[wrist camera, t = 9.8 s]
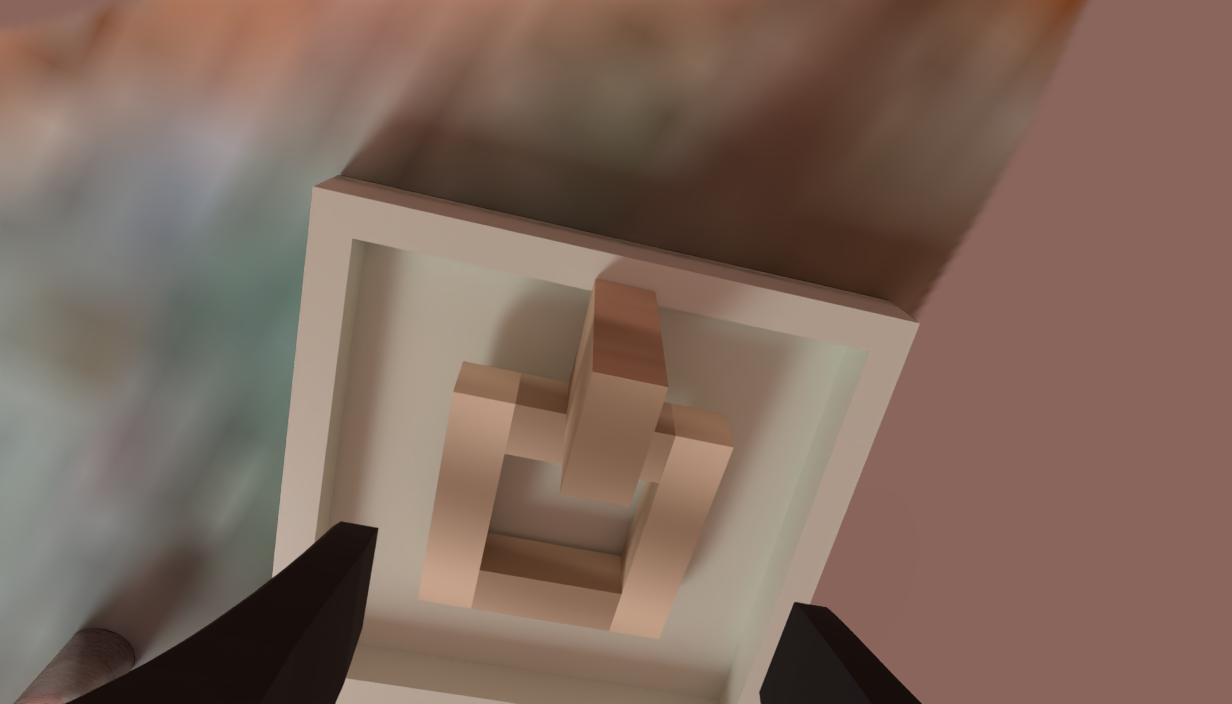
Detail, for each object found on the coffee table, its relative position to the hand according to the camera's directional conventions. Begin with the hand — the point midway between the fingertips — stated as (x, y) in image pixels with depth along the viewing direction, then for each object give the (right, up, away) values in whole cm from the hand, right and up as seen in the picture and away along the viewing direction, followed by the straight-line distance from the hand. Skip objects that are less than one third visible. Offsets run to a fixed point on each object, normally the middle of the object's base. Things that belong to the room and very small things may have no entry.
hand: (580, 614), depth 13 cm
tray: (-1, +1, +10) cm, 10 cm away
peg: (-16, -5, +11) cm, 20 cm away
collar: (0, +2, +8) cm, 8 cm away
